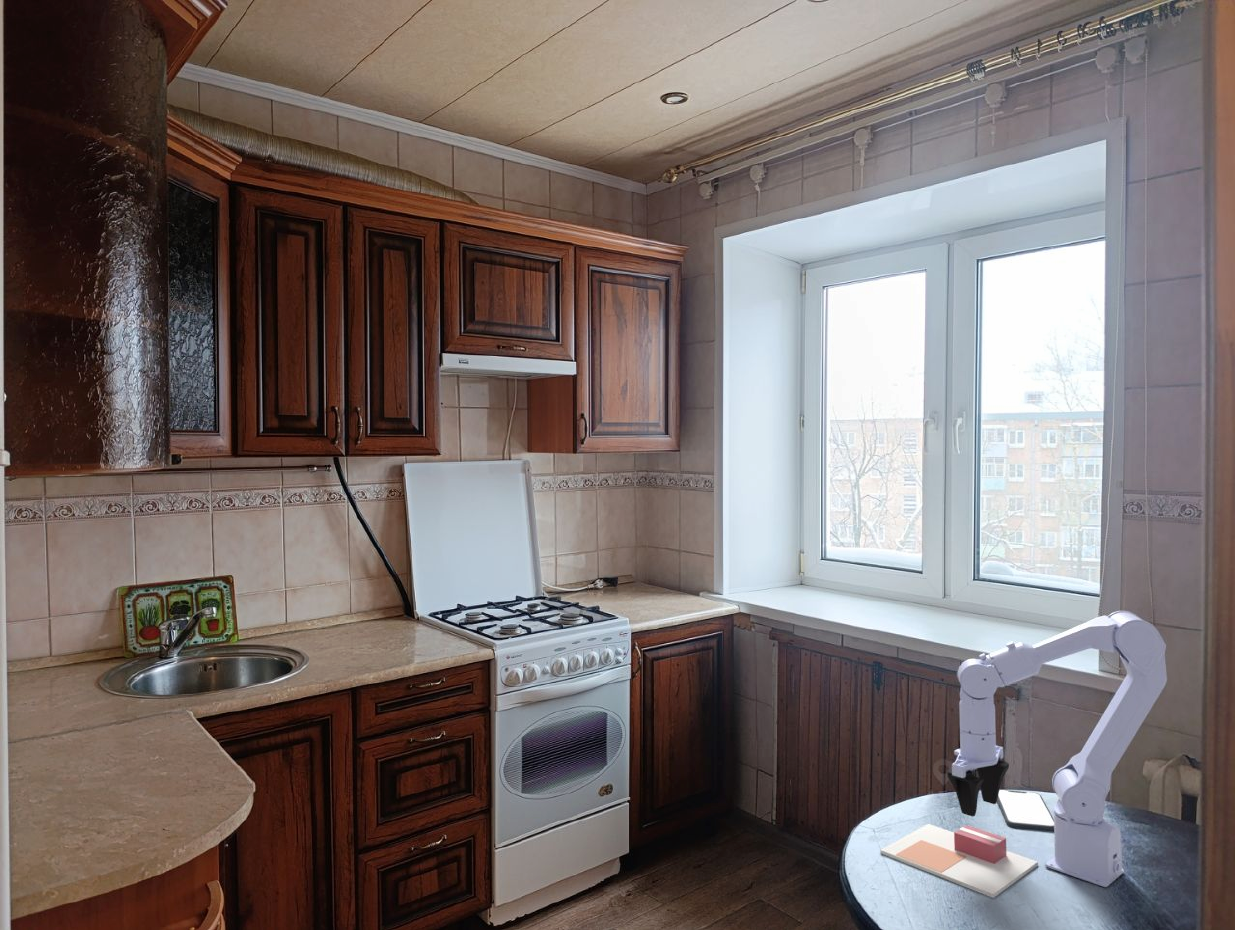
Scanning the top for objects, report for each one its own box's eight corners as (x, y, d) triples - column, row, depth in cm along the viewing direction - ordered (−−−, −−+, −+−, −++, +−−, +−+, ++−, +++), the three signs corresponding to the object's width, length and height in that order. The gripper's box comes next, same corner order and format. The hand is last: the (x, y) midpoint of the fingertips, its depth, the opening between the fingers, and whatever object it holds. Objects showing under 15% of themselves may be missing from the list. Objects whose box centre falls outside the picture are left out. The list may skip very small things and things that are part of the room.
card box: (1006, 855, 140) (1006, 837, 140) (994, 863, 137) (993, 845, 137) (967, 841, 145) (966, 824, 145) (954, 849, 142) (954, 831, 142)
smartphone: (1059, 836, 149) (1040, 800, 165) (1059, 827, 149) (1040, 792, 165) (1007, 831, 152) (993, 796, 167) (1007, 822, 152) (993, 788, 167)
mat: (1038, 865, 137) (1037, 861, 137) (993, 897, 127) (993, 893, 127) (928, 826, 153) (928, 823, 153) (880, 853, 142) (880, 849, 142)
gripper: (975, 716, 149) (977, 790, 149) (934, 733, 140) (936, 812, 139) (1014, 725, 143) (1016, 802, 143) (974, 743, 134) (976, 825, 134)
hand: (979, 808), depth 141 cm, fingers open, 7 cm apart
